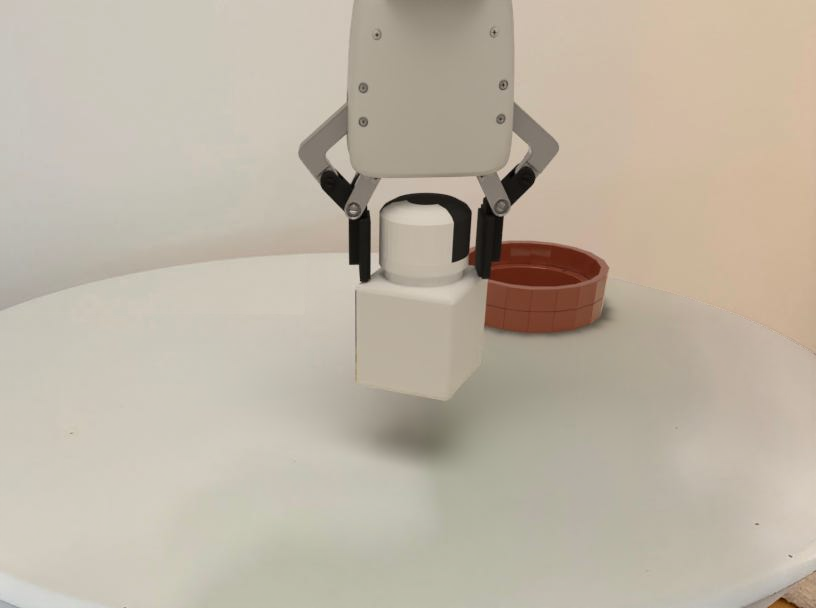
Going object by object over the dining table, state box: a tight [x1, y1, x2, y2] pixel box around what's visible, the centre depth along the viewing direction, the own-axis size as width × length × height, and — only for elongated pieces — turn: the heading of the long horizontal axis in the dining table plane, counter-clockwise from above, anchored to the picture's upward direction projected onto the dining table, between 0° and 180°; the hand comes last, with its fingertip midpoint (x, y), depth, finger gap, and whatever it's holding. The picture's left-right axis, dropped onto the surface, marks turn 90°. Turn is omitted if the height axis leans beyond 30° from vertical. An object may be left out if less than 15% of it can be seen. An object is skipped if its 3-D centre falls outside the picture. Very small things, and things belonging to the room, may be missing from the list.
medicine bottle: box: [354, 192, 488, 402], centre depth 68 cm, size 7×7×12 cm
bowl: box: [468, 240, 610, 334], centre depth 98 cm, size 15×15×5 cm
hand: (423, 272), depth 67 cm, fingers closed on medicine bottle, 7 cm apart
